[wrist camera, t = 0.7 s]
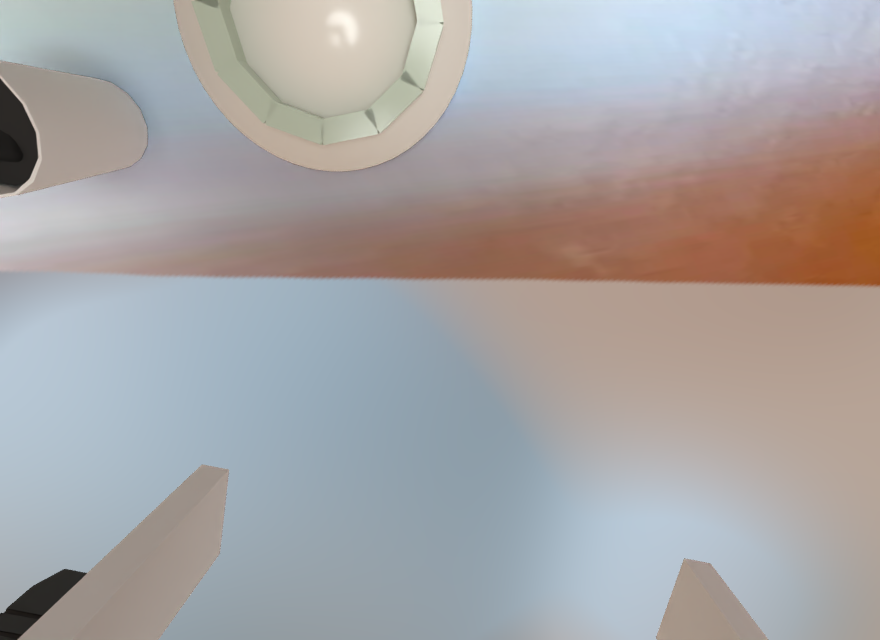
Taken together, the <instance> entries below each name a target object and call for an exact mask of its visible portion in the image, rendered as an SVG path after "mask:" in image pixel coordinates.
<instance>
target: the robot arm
mask: <svg viewBox="0 0 880 640" xmlns="http://www.w3.org/2000/svg"><path fill="white" fill-rule="evenodd" d="M228 474H229V470H228V469H223V468H218V467H212V466H207V465H201V466H200V467H199V468H198V469H197V470H196V471H195V472H194V473H193V474H192V475H191V476H189V477H188V478H187V479H186V480H185V481H184V482H183V483H182V484H181V485H180V486H179V487H178V488H177V489H176V490H175V491H174V492H173V493H172V494H170V495H169V496H168V497H167V498H166V499H165V500H164V501H163V502H162V503H161V504H160V505H159V506H158V507H157V508H156V509H155V510H154V511H153V512H152V513H151V514H149V515H148V516H147V517H146V518H145V519H144V520H143V521H142V522H141V523H140V524H139V525H138V526H137V527H136V528H135V529H134V530H133V531H132V532H131V533H129V534H128V535H127V536H126V537H125V538H124V539H123V540H122V541H121V542H120V543H119V544H118V545H117V546H116V547H115V548H114V549H112V551H110V552H109V553H108V554H107V555H106V556H105V557H104V558H103V559H102V560H101V561H100V562H99V563H98V564H97V565H96V566H95V567H94V568H92V569H91V571H89V572H88V573H83V572H78V571H73V570H68V569H64V570H62V571H60V572H58V573H56V574H54V575H52V576H51V577H49V578H47V579H45V580H43V581H41V582H39V583H37V584H36V585H34V586H33V587H31V588H30V589H29V590H28V591H26V592H25V593H24V594H23V595H22V596H21V597H19V598H18V599H17V600H16V601H15V602H14V603H12V604H11V605H10V606H9V607H8V608H7V609H6V611H5V612H4V613H1V614H0V640H158V639H159V638H160V636H161V635H162V634H163V632H164V631H165V629H166V628H167V627H168V625H169V624H170V622H171V621H172V620H173V618H174V617H175V615H176V614H177V613H178V611H179V610H180V608H181V607H182V606H183V604H184V603H185V601H186V600H187V599H188V597H189V596H190V594H191V593H192V592H193V590H194V589H195V587H196V586H197V585H198V583H199V582H200V580H201V579H202V578H203V576H204V575H205V573H206V572H207V571H208V569H209V568H210V566H211V565H212V563H213V562H214V561H215V559H216V558H217V557H218V555H219V553H220V547H221V537H222V528H223V519H224V510H225V500H226V492H227V482H228ZM656 639H657V640H768V639H767V637H766V636H765V635H764V633H763V632H762V631H761V629H760V628H759V627H758V625H757V624H756V623H755V621H754V620H753V619H752V618H751V616H750V615H749V614H748V612H747V611H746V610H745V608H744V607H743V606H742V604H741V603H740V602H739V600H738V599H737V598H736V596H735V595H734V594H733V593H732V591H731V590H730V589H729V587H728V586H727V585H726V583H725V582H724V581H723V579H722V578H721V577H720V575H719V574H718V573H717V572H716V570H715V569H714V568H713V566H712V565H711V564H710V563H705V562H700V561H695V560H690V559H685V558H684V560H683V563H682V566H681V569H680V572H679V575H678V577H677V580H676V583H675V586H674V588H673V591H672V594H671V597H670V600H669V603H668V605H667V608H666V611H665V614H664V617H663V619H662V622H661V625H660V628H659V631H658V634H657V636H656Z"/></svg>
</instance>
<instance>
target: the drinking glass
mask: <svg viewBox="0 0 880 640" xmlns="http://www.w3.org/2000/svg"><path fill="white" fill-rule="evenodd" d="M147 145H148V141H147V125H146V123H145V120H144V117H143V115H142V112H141V110H140V108H139V107H138V106H137V105H136V103H135V102H134V101H133V100H132V98H131V97H130V96H129V94H128V93H126V92H125V91H123V90H122V89H120V88H119V87H117V86H116V85H114V84H113V83H111V82H108V81H104V80H100V79H96V78H92V77H86V76H81V75H76V74H70V73H65V72H59V71H54V70H49V69H43V68H38V67H33V66H27V65H22V64H16V63H11V62H6V61H0V198H4V197H10V196H16V195H20V194H24V193H28V192H32V191H36V190H40V189H44V188H48V187H52V186H56V185H60V184H64V183H68V182H72V181H76V180H80V179H84V178H88V177H92V176H96V175H100V174H104V173H108V172H112V171H116V170H120V169H124V168H128V167H131V166H132V165H133V164H135V163H136V162H137V161H139V160H140V159H141V158H142V156H143V154H144V151H145V149H146V147H147Z"/></svg>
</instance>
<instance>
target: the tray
mask: <svg viewBox="0 0 880 640" xmlns="http://www.w3.org/2000/svg"><path fill="white" fill-rule="evenodd" d="M174 7H175V12H176V18H177V23H178V28H179V31H180V34H181V37H182V41H183V44H184V47H185V50H186V52H187V55H188V57H189V60H190V62H191V64H192V67H193V69H194V71H195V73H196V75H197V76H198V78H199V80H200V82H201V84H202V85H203V87H204V89H205V90H206V92H207V93H208V95H209V96H210V98H211V99H212V101H213V102H214V103H215V105H216V106H217V107H218V109H219V110H220V111H221V112H222V113H223V114H224V116H225V117H226V118H227V119H228V120H229V121H230V122H231V123H232V124H233V125H234V126H235V127H236V128H237V129H238V130H239V131H240V132H241V133H242V134H244V135H245V136H246V137H247V138H249V139H250V140H251V141H253V142H254V143H255V144H257V145H258V146H259V147H261V148H263V149H264V150H266V151H268V152H270V153H271V154H273V155H275V156H277V157H279V158H281V159H284V160H286V161H288V162H291V163H293V164H296V165H300V166H303V167H307V168H310V169H317V170H324V171H352V170H360V169H365V168H368V167H372V166H376V165H379V164H381V163H384V162H386V161H388V160H390V159H393V158H395V157H397V156H398V155H400V154H401V153H403V152H405V151H406V150H408V149H409V148H411V147H412V146H413V145H414V144H416V143H417V142H418V141H419V140H420V139H422V138H423V137H424V136H425V135H426V134H427V133H428V131H429V130H430V129H431V128H432V127H433V126H434V125H435V124H436V122H437V121H438V120H439V118H440V117H441V115H442V114H443V113H444V111H445V110H446V108H447V107H448V105H449V103H450V101H451V99H452V97H453V95H454V94H455V92H456V89H457V87H458V84H459V82H460V79H461V76H462V74H463V71H464V67H465V63H466V59H467V56H468V51H469V44H470V37H471V30H472V0H174Z"/></svg>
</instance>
